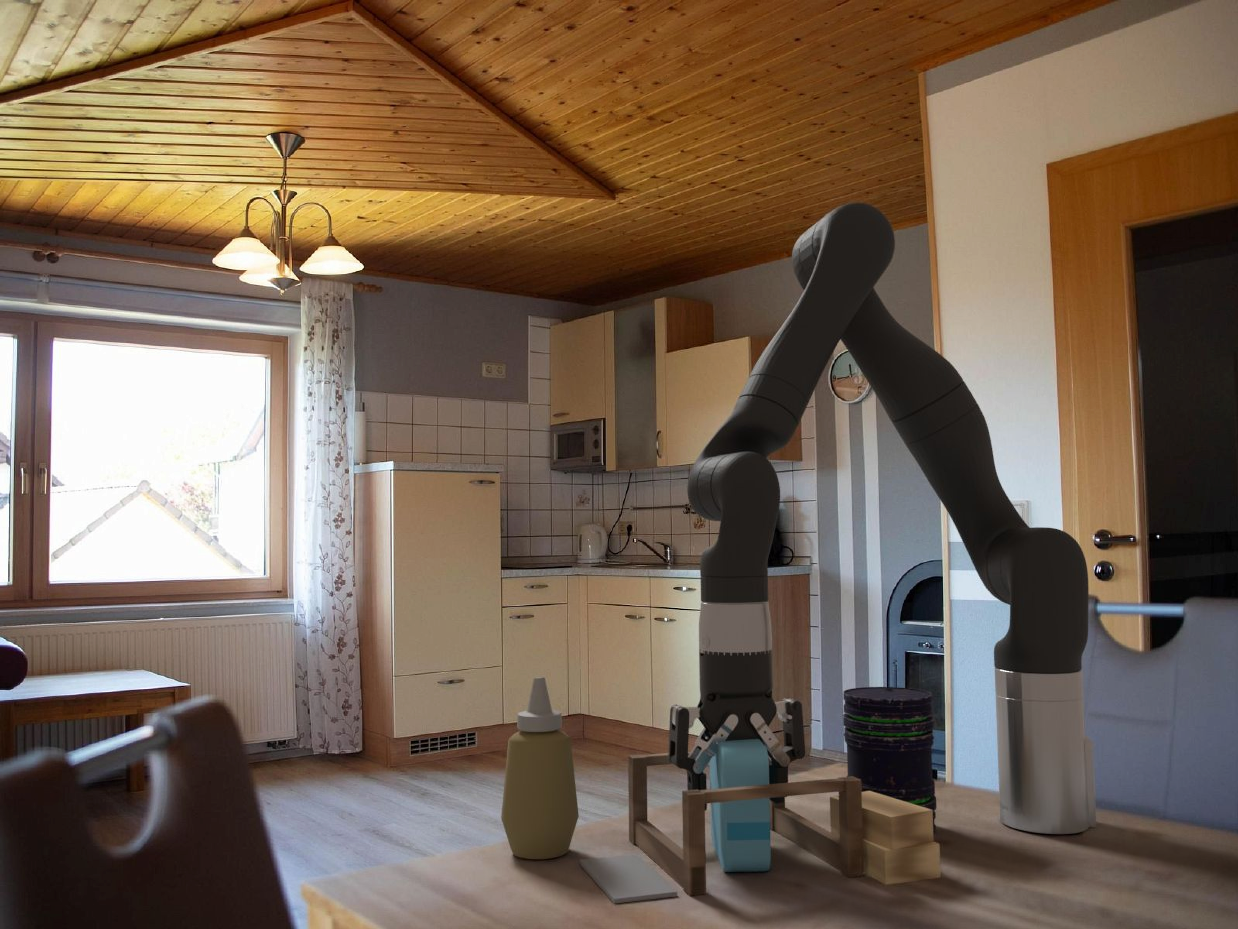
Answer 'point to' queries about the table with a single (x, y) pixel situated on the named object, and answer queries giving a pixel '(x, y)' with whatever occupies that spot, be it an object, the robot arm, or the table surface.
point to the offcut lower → (900, 862)
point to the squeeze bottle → (539, 782)
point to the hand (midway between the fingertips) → (738, 805)
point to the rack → (691, 859)
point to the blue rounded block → (741, 807)
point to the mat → (627, 878)
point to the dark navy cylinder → (891, 742)
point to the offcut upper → (890, 821)
